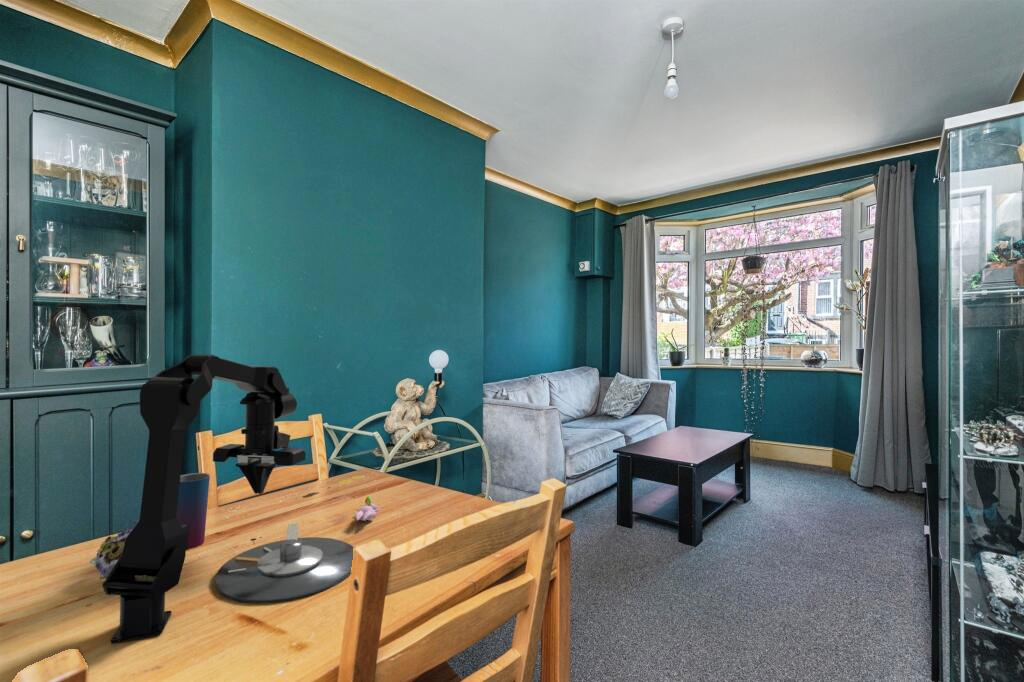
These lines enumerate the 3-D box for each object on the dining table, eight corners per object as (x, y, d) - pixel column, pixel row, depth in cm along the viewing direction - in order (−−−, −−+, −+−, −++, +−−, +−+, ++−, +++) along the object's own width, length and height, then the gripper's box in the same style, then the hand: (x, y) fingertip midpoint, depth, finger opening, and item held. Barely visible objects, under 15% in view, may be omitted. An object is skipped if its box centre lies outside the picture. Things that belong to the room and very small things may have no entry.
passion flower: (109, 614, 91) (69, 562, 91) (160, 575, 102) (124, 529, 101) (145, 589, 88) (104, 536, 88) (194, 552, 99) (158, 504, 98)
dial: (323, 570, 96) (323, 550, 96) (254, 580, 91) (254, 560, 91) (321, 537, 111) (321, 520, 111) (262, 544, 107) (262, 527, 107)
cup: (191, 552, 105) (192, 482, 105) (164, 548, 107) (165, 480, 107) (216, 539, 112) (217, 474, 112) (190, 536, 113) (191, 471, 113)
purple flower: (359, 515, 133) (346, 527, 118) (360, 492, 134) (348, 501, 119) (383, 515, 133) (373, 526, 118) (384, 492, 134) (374, 501, 119)
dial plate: (363, 587, 92) (364, 581, 92) (202, 615, 82) (202, 608, 82) (352, 535, 116) (353, 530, 116) (227, 551, 106) (227, 546, 106)
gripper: (318, 418, 115) (317, 485, 115) (245, 415, 117) (244, 480, 117) (291, 427, 104) (290, 500, 104) (211, 423, 106) (210, 495, 106)
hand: (259, 493), depth 108 cm, fingers closed
